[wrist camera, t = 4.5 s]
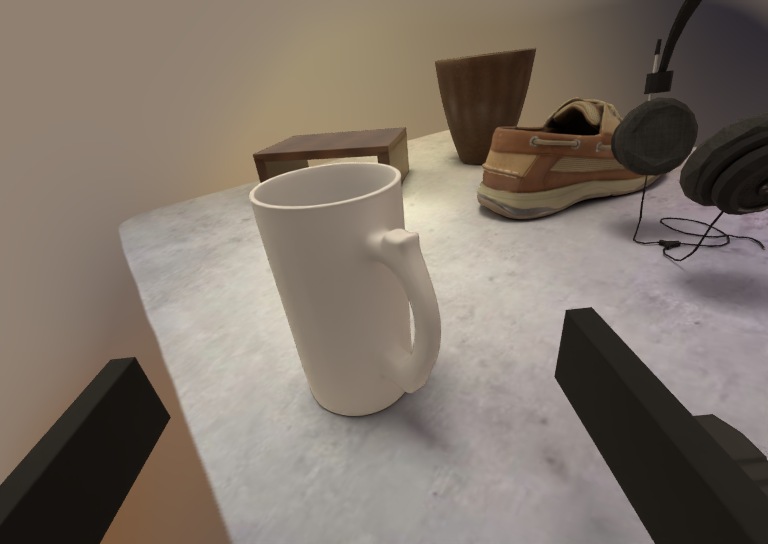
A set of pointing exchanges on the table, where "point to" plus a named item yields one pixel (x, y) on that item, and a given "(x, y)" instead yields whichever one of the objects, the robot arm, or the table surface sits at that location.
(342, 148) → the walnut shelf
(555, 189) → the boat shoe
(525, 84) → the flower pot
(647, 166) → the headphones
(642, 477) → the robot arm
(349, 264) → the mug
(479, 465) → the table surface
